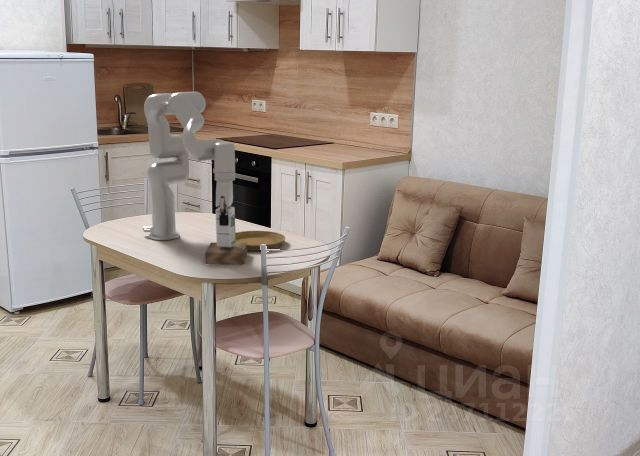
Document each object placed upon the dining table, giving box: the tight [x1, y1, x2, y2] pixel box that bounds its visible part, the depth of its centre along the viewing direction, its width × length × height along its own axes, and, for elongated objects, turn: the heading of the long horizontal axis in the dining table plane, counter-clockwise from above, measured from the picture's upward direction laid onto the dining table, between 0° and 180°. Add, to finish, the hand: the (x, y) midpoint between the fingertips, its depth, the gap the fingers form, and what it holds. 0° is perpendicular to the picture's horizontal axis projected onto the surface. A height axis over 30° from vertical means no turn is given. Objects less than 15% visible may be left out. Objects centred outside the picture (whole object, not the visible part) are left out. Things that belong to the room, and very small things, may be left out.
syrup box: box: [215, 205, 236, 247], centre depth 269 cm, size 6×6×14 cm
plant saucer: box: [235, 230, 286, 252], centre depth 293 cm, size 24×24×3 cm
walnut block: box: [204, 242, 248, 266], centre depth 272 cm, size 14×14×5 cm
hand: (225, 222), depth 269 cm, fingers closed on syrup box, 6 cm apart
